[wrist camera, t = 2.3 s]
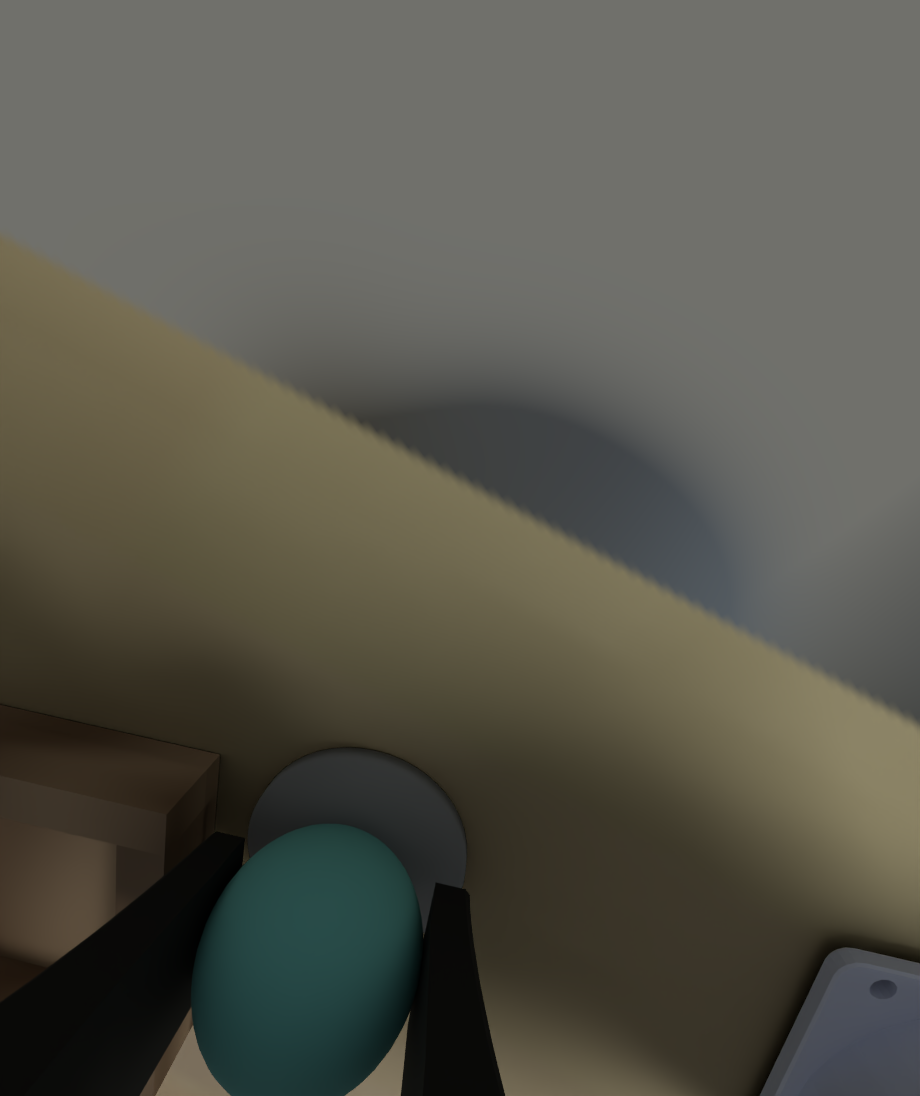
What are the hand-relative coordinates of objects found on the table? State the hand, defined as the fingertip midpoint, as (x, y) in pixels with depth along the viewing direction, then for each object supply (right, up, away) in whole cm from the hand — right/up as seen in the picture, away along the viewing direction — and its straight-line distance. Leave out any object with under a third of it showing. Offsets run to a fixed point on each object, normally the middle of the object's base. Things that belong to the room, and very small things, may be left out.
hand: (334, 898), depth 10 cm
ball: (0, 0, +1) cm, 1 cm away
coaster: (0, 0, +1) cm, 1 cm away
